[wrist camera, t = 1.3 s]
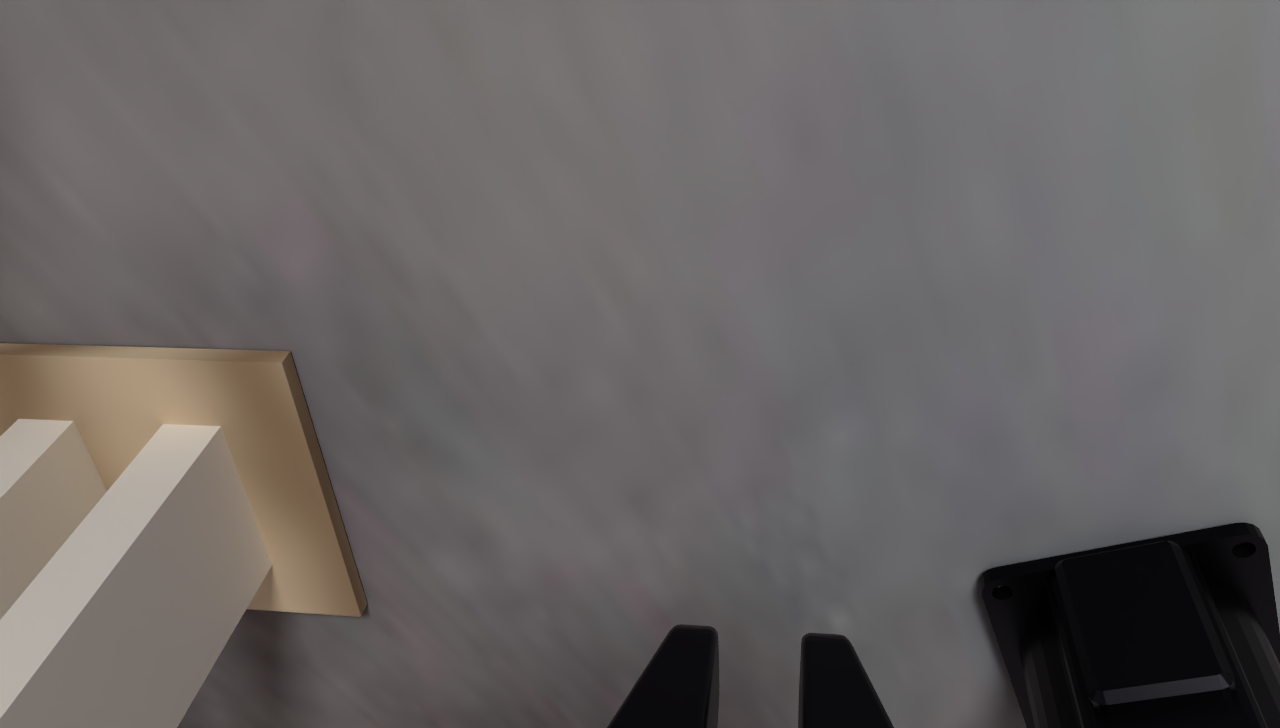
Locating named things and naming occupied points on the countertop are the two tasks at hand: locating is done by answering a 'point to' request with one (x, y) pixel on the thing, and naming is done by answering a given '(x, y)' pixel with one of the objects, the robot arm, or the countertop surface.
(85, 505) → the domino
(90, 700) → the domino
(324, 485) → the oak strip
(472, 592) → the countertop surface
